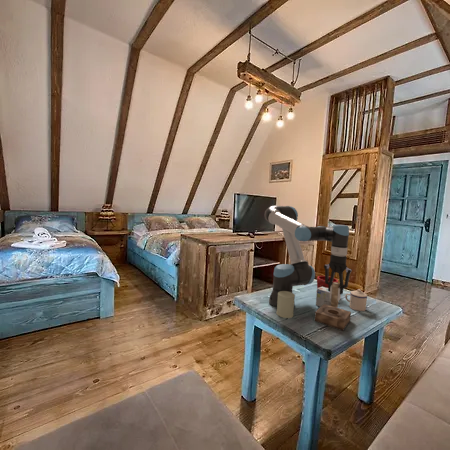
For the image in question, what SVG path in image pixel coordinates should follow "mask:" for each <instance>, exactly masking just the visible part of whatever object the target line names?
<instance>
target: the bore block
mask: <svg viewBox="0 0 450 450" xmlns="http://www.w3.org/2000/svg"><path fill="white" fill-rule="evenodd" d="M351 315H352V312H351V311H350V310H345V309H344V308H343V309H342V308H339V307H338V308H336V307H332V306H329V305H326V304H323V305H322V306H321V307H320V306H319V308H318V309H317V310H316V311H315V312H314V322H317V323H319V324H323V325H325V326H328V327H331V328H334V329H337V330H339V331H344V330H345V329H346V327H347V326H348V325H349V323H350V322H351Z"/></svg>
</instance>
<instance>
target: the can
mask: <svg viewBox="0 0 450 450" xmlns="http://www.w3.org/2000/svg"><path fill="white" fill-rule="evenodd" d="M295 297H296V295H295V293H293V292H292V293H291V292H288V291H280V292H278V301H277V307H276V312H275V313H276V315H277V316H278V317H280V318H283V319H291V318H293V317H294V309H295V308H294V307H295V303H294V301H295Z"/></svg>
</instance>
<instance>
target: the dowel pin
mask: <svg viewBox="0 0 450 450" xmlns="http://www.w3.org/2000/svg"><path fill="white" fill-rule="evenodd" d="M338 288H340V282H338V283H335V282H333V283H332V296H331V306H332V307H338V308H339V301H338V300H337V299H338Z"/></svg>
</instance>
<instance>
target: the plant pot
mask: <svg viewBox="0 0 450 450" xmlns="http://www.w3.org/2000/svg"><path fill="white" fill-rule="evenodd" d="M330 277H331V276H329V280H330ZM333 282H335V283H339V280H338V279H337V278H335V277H334V279H333ZM316 287H317V288H320V287H325V288H328V287H329V285H328V284H326V283H325V275H318V276H317V277H316ZM317 288H316V289H317Z"/></svg>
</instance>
